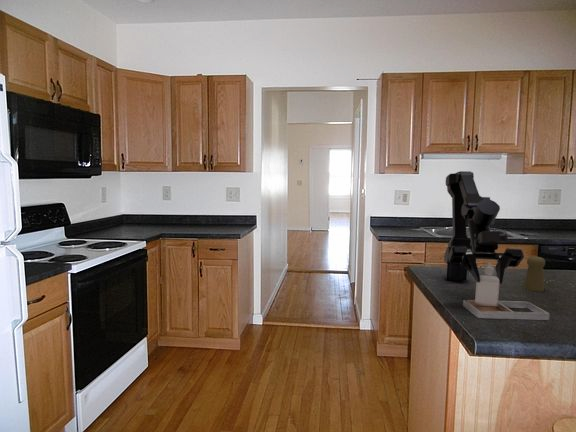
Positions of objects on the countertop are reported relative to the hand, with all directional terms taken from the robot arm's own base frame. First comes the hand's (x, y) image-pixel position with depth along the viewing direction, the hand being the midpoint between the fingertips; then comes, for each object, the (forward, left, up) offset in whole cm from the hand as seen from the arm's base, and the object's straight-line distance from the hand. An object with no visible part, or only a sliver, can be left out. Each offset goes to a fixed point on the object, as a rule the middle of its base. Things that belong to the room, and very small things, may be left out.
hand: (489, 282), depth 106 cm
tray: (+3, +4, -9) cm, 10 cm away
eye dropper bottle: (-1, +1, -7) cm, 7 cm away
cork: (+6, +37, -9) cm, 38 cm away
